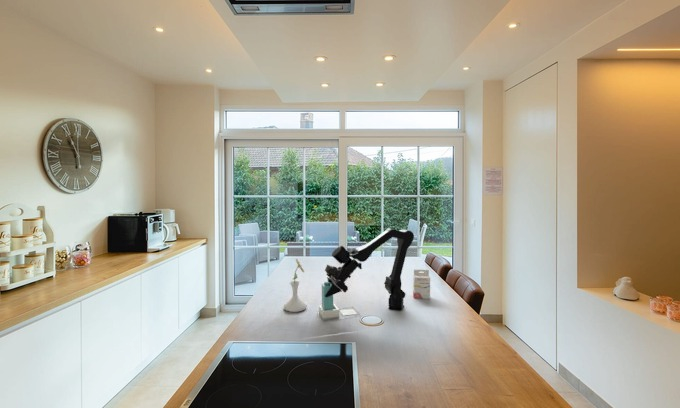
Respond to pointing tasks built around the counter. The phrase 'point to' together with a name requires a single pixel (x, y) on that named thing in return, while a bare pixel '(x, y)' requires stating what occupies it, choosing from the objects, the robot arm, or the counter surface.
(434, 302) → the counter surface
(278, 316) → the counter surface
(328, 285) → the plug
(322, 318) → the grey board with socket
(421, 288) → the ink cartridge box
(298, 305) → the flower in vase
